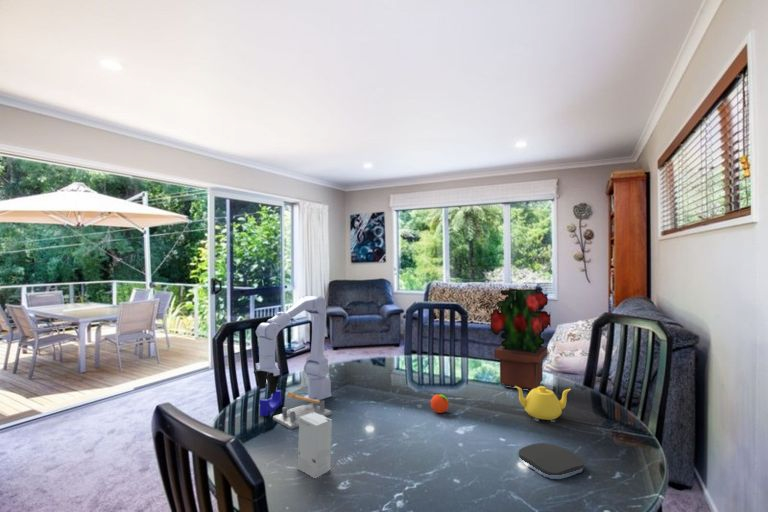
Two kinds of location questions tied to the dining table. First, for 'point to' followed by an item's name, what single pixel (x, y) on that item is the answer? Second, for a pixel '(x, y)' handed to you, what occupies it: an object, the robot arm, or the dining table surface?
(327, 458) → the skincare box
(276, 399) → the blue notched block
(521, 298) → the potted plant
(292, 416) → the mount
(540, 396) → the teapot
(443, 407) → the clementine
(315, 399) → the light brown wooden bar
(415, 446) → the dining table surface
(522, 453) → the media streaming box
